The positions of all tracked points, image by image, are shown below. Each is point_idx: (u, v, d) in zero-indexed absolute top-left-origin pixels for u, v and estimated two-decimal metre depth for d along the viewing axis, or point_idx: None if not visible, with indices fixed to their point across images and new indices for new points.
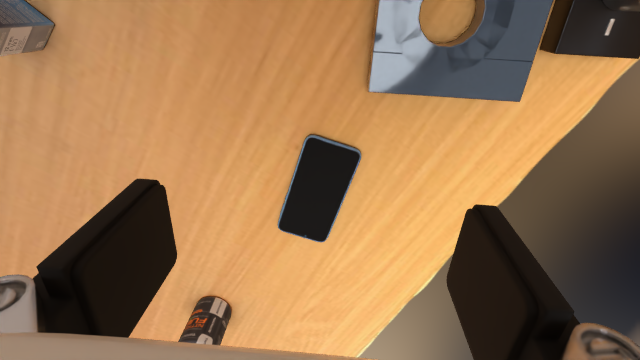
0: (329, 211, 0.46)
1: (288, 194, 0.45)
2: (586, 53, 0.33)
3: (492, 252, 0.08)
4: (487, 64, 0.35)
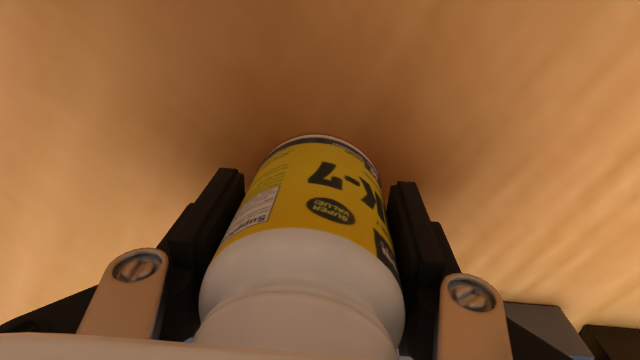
0: None
1: None
2: None
3: (399, 219, 0.09)
4: None
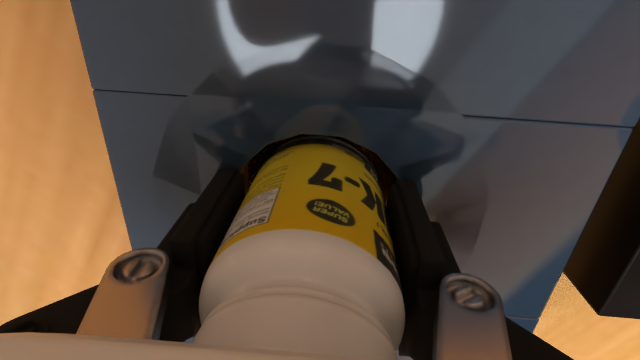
0: None
1: None
2: None
3: (399, 219, 0.09)
4: None
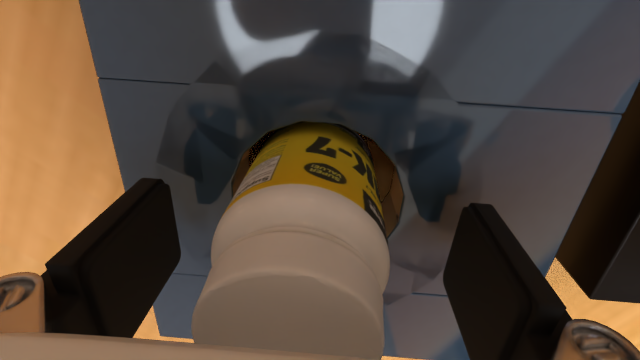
0: None
1: None
2: None
3: (487, 249, 0.08)
4: (421, 303, 0.14)
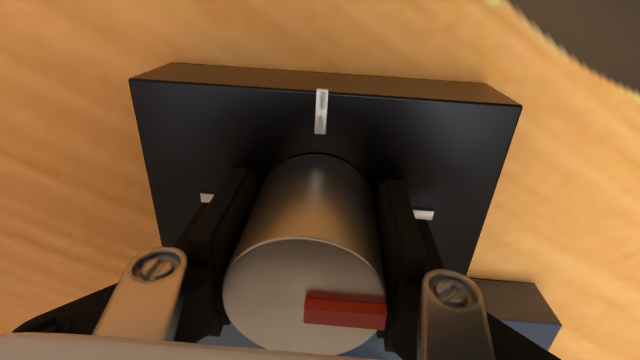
0: None
1: None
2: (473, 241, 0.13)
3: (385, 217, 0.09)
4: None
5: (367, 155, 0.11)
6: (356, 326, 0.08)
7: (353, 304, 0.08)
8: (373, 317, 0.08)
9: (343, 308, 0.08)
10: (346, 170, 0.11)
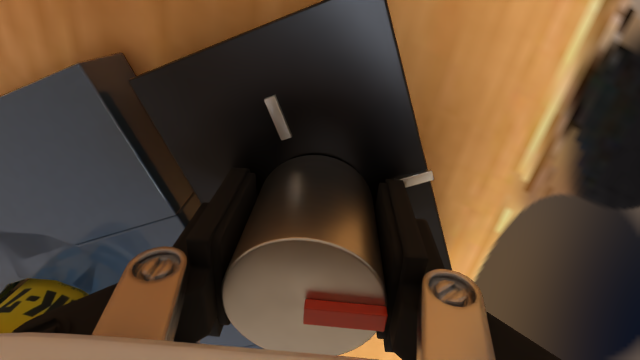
0: None
1: None
2: None
3: (385, 216, 0.09)
4: None
5: None
6: (356, 327, 0.08)
7: (353, 306, 0.08)
8: (373, 318, 0.08)
9: (343, 309, 0.08)
10: (346, 171, 0.11)
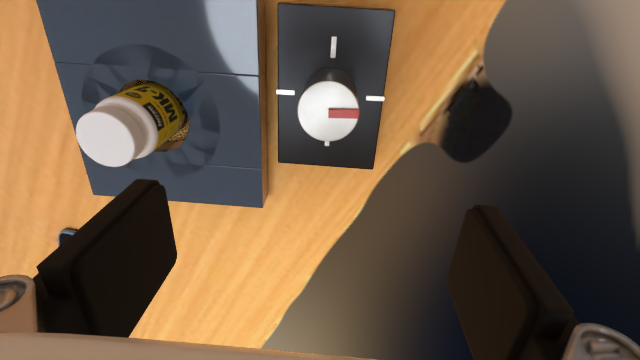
0: None
1: None
2: (312, 163, 0.29)
3: (492, 252, 0.08)
4: (212, 170, 0.30)
5: None
6: (348, 117, 0.22)
7: (346, 110, 0.22)
8: (354, 113, 0.22)
9: (343, 110, 0.22)
10: (343, 72, 0.25)
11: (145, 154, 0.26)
